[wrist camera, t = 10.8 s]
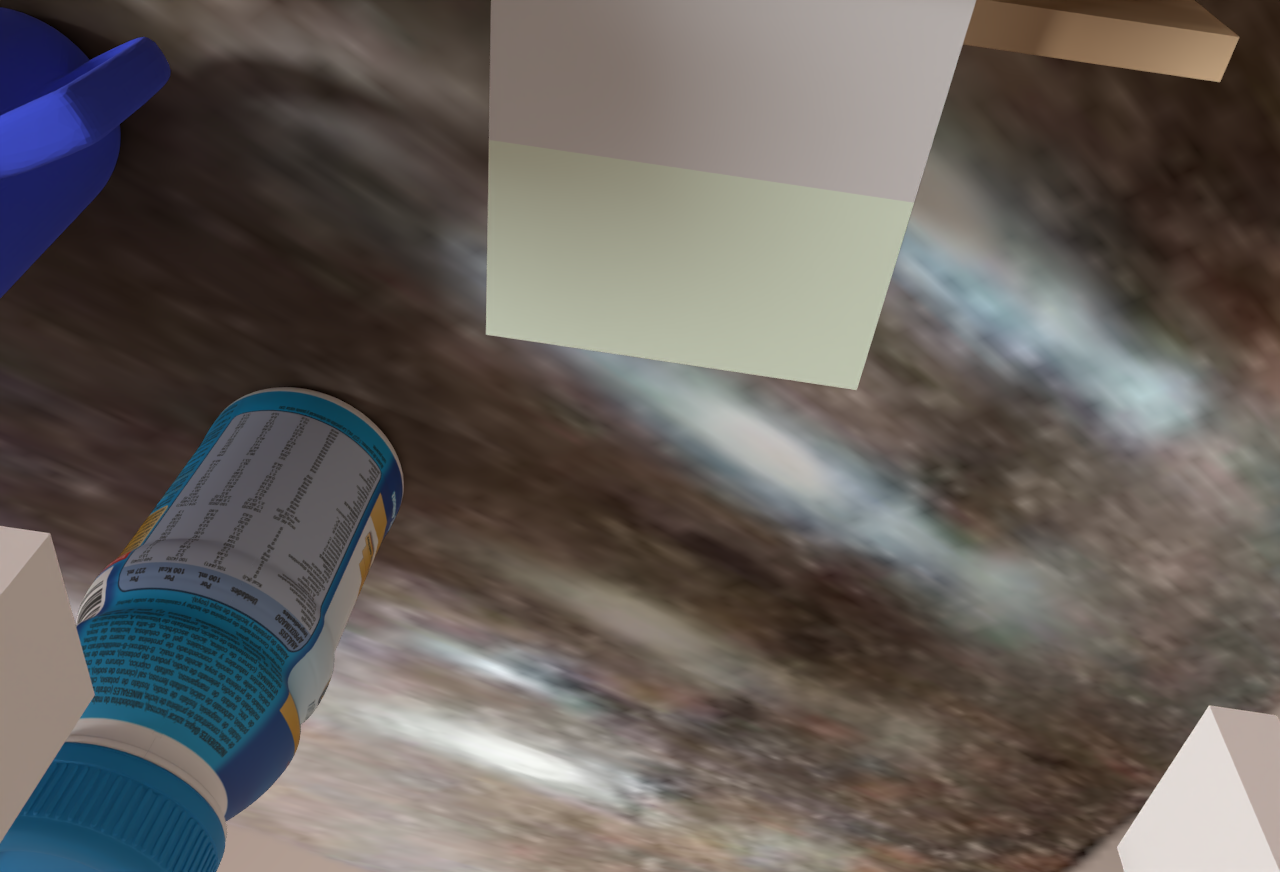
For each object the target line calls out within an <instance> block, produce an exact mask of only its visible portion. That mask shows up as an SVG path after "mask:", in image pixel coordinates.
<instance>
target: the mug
mask: <svg viewBox="0 0 1280 872" xmlns="http://www.w3.org/2000/svg"><path fill="white" fill-rule="evenodd" d="M170 74H171V70H170V66H169V64H168V62H167V60H166V58H165V56H164V54H163V53H162V51H161V50H160V49H159V47H158V46H157V45H156V43H155V42H154V41H152V40H151V39H149V38H147V37H139V38H136V39H133V40H131V41H128V42H126V43H124V44H122V45H119V46H117V47H115V48H113V49H111V50H109V51H107V52H105V53H103V54H101V55H99V56H97V57H95V58H93V59H91V60H89V58H88V57H87V56H86V55H85V54H84V53H83V52H82V51H81V50H80V49H79V48H78V47H77V46H76V45H75V44H74V43H73V42H72V41H70V40H69V39H68V38H67V37H66V36H64V35H63V34H62V33H60V32H59V31H57V30H56V29H55V28H53V27H51V26H50V25H48V24H46V23H44V22H42V21H40V20H39V19H37V18H34V17H32V16H29V15H27V14H24V13H22V12H18V11H15V10H11V9H7V8H2V7H0V298H1V297H2V296H3V295H4V294H5V293H6V292H7V291H8V290H9V289H10V288H11V287H12V286H13V284H14V283H15V282H16V281H17V280H18V279H19V278H20V277H21V276H22V275H23V274H24V273H25V272H26V271H27V270H28V269H29V268H30V266H31V265H32V264H33V263H34V262H35V261H36V260H37V259H38V258H39V257H40V256H41V255H42V254H43V253H44V252H45V251H46V249H47V248H48V247H49V246H50V245H51V244H52V243H53V242H54V241H55V240H56V239H57V238H58V237H59V236H60V235H61V234H62V233H63V231H64V230H65V229H66V228H67V227H68V226H69V225H70V224H71V223H72V222H73V221H74V220H75V219H76V218H77V217H78V216H79V215H80V213H81V212H82V211H83V210H84V209H85V208H86V207H87V206H88V205H89V204H90V203H91V202H92V201H93V200H94V198H95V197H96V196H97V195H98V194H99V193H100V192H101V190H102V189H103V188H104V187H105V185H106V183H107V182H108V180H109V178H110V176H111V174H112V172H113V170H114V168H115V165H116V162H117V159H118V155H119V150H120V140H121V132H120V124H121V123H122V122H123V121H124V120H125V119H127V118H128V117H129V116H130V115H132V114H133V113H134V112H135V111H136V110H138V109H139V108H140V107H141V106H142V105H144V104H145V103H146V102H147V101H148V100H149V99H150V98H151V97H152V96H154V95H155V94H156V93H157V92H158V91H159V90H160V89H161V88H162V87H163V86H164V85H165V84H166V82H167V81H168V80H169V78H170Z"/></svg>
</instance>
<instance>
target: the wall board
mask: <svg viewBox="0 0 1280 872" xmlns="http://www.w3.org/2000/svg"><path fill="white" fill-rule="evenodd" d="M1238 40H1239V36H1238V35H1236V34H1235V33H1234V32H1233V31H1232V30H1230V29H1229V28H1228V27H1227V26H1225V25H1224V24H1223V23H1222V22H1221V21H1219V20H1218V19H1217V18H1216V17H1214V16H1213V15H1212V14H1211V13H1209V12H1208V11H1207V10H1206V9H1205V8H1203V7H1202V6H1201V5H1200V4H1198V3H1197V2H1196V1H1195V0H976V3H975V6H974V9H973V13H972V16H971V19H970V22H969V26H968V29H967V32H966V35H965V39H964V42H963V45H970V46H977V47H984V48H991V49H997V50H1004V51H1011V52H1018V53H1025V54H1031V55H1038V56H1045V57H1052V58H1059V59H1065V60H1072V61H1079V62H1086V63H1093V64H1099V65H1106V66H1113V67H1120V68H1127V69H1133V70H1140V71H1147V72H1154V73H1161V74H1167V75H1174V76H1181V77H1188V78H1195V79H1201V80H1208V81H1215V82H1220V81H1221V79H1222V76H1223V74H1224V72H1225V69H1226V67H1227V65H1228V63H1229V60H1230V58H1231V56H1232V53H1233V51H1234V49H1235V46H1236V44H1237V42H1238Z"/></svg>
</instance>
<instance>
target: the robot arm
mask: <svg viewBox="0 0 1280 872" xmlns="http://www.w3.org/2000/svg"><path fill="white" fill-rule="evenodd" d="M94 695H95V693H94V690H93V686H92V683H91V679H90V675H89V672H88V668H87V664H86V661H85V657H84V654H83V650H82V646H81V643H80V639H79V635H78V632H77V628H76V625H75V621H74V617H73V614H72V610H71V606H70V603H69V599H68V596H67V592H66V588H65V585H64V581H63V577H62V574H61V570H60V567H59V563H58V559H57V556H56V552H55V548H54V545H53V541H52V538H51V534H50V533H45V532H38V531H31V530H25V529H18V528H11V527H4V526H0V843H1V841H2V840H3V838H4V836H5V835H6V833H7V832H8V830H9V829H10V827H11V825H12V824H13V822H14V821H15V819H16V818H17V816H18V814H19V813H20V811H21V810H22V808H23V807H24V805H25V803H26V802H27V800H28V799H29V797H30V796H31V794H32V793H33V791H34V789H35V788H36V786H37V785H38V783H39V782H40V780H41V778H42V777H43V775H44V774H45V772H46V771H47V769H48V767H49V766H50V764H51V763H52V761H53V760H54V758H55V757H56V755H57V753H58V752H59V750H60V749H61V747H62V746H63V744H64V742H65V741H66V739H67V738H68V736H69V735H70V733H71V731H72V730H73V728H74V727H75V725H76V724H77V722H78V720H79V719H80V717H81V716H82V714H83V713H84V711H85V710H86V708H87V706H88V705H89V703H90V702H91V700H92V699H93V697H94ZM1117 850H1118V853H1119V856H1120V860H1121V863H1122V866H1123V870H1124V872H1280V720H1279V718H1278V716H1277V715H1271V714H1264V713H1257V712H1251V711H1244V710H1237V709H1230V708H1224V707H1217V706H1210V705H1209V706H1208V708H1207V709H1206V711H1205V713H1204V714H1203V716H1202V717H1201V719H1200V720H1199V722H1198V723H1197V725H1196V726H1195V728H1194V729H1193V731H1192V733H1191V734H1190V736H1189V737H1188V739H1187V740H1186V742H1185V743H1184V745H1183V746H1182V748H1181V749H1180V751H1179V752H1178V754H1177V756H1176V757H1175V759H1174V760H1173V762H1172V763H1171V765H1170V766H1169V768H1168V769H1167V771H1166V772H1165V774H1164V776H1163V777H1162V779H1161V780H1160V782H1159V783H1158V785H1157V786H1156V788H1155V789H1154V791H1153V792H1152V794H1151V795H1150V797H1149V799H1148V800H1147V802H1146V803H1145V805H1144V806H1143V808H1142V809H1141V811H1140V812H1139V814H1138V815H1137V817H1136V819H1135V820H1134V822H1133V823H1132V825H1131V826H1130V828H1129V829H1128V831H1127V832H1126V834H1125V835H1124V837H1123V838H1122V840H1121V842H1120V843H1119V845H1118V846H1117Z"/></svg>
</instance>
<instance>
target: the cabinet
mask: <svg viewBox="0 0 1280 872" xmlns="http://www.w3.org/2000/svg"><path fill="white" fill-rule="evenodd" d="M975 3H976V0H491V35H490V100H489V165H488V230H487V295H486V335H492V336H499V337H505V338H512V339H519V340H525V341H532V342H539V343H545V344H552V345H559V346H565V347H572V348H579V349H586V350H592V351H599V352H606V353H612V354H619V355H626V356H632V357H639V358H646V359H652V360H659V361H666V362H673V363H679V364H686V365H693V366H699V367H706V368H713V369H719V370H726V371H733V372H739V373H746V374H753V375H760V376H766V377H773V378H780V379H786V380H793V381H800V382H806V383H813V384H820V385H826V386H833V387H840V388H847V389H853V390H857V387H858V384H859V381H860V378H861V374H862V371H863V368H864V365H865V361H866V358H867V355H868V352H869V348H870V345H871V342H872V339H873V335H874V332H875V329H876V326H877V322H878V319H879V316H880V313H881V309H882V306H883V303H884V299H885V296H886V293H887V290H888V286H889V283H890V280H891V277H892V273H893V270H894V267H895V264H896V260H897V257H898V254H899V251H900V247H901V244H902V241H903V238H904V234H905V231H906V228H907V224H908V221H909V218H910V215H911V211H912V208H913V205H914V202H915V198H916V195H917V192H918V189H919V185H920V182H921V179H922V176H923V172H924V169H925V166H926V163H927V159H928V156H929V153H930V150H931V146H932V143H933V140H934V136H935V133H936V130H937V127H938V123H939V120H940V117H941V114H942V110H943V107H944V104H945V101H946V97H947V94H948V91H949V88H950V84H951V81H952V78H953V75H954V71H955V68H956V65H957V61H958V58H959V55H960V52H961V48H962V45H963V42H964V39H965V35H966V32H967V29H968V26H969V22H970V19H971V16H972V13H973V9H974V6H975Z"/></svg>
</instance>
